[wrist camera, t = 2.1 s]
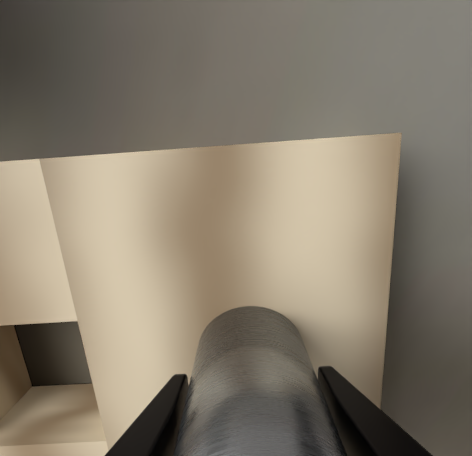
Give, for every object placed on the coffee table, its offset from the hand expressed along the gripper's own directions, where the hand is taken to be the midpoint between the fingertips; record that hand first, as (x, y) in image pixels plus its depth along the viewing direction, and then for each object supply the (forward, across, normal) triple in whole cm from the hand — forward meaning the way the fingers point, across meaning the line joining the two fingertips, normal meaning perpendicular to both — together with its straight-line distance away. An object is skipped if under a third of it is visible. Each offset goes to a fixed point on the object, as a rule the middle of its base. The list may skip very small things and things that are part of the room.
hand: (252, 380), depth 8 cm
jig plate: (+4, +4, 0) cm, 6 cm away
